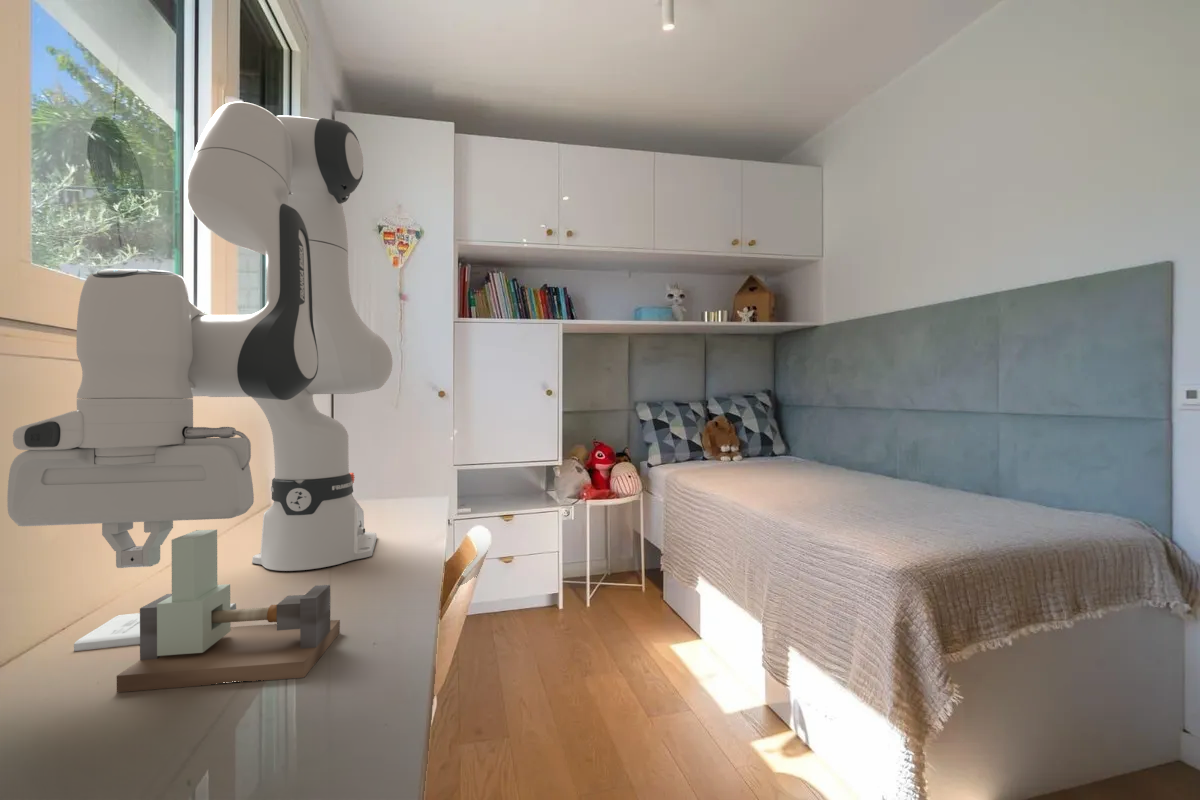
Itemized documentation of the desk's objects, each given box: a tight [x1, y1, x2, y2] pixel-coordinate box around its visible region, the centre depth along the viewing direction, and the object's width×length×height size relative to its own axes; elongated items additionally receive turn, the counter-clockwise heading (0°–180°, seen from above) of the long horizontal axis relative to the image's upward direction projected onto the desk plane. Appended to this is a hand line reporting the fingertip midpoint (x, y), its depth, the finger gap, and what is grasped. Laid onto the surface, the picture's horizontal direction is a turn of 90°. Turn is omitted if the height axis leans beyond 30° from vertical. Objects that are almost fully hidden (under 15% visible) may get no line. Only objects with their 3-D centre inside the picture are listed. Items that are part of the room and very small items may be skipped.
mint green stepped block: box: [157, 529, 232, 656], centre depth 54 cm, size 5×4×11 cm
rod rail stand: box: [116, 584, 341, 693], centre depth 55 cm, size 10×16×6 cm, turn 98°
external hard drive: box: [73, 603, 237, 652], centre depth 62 cm, size 2×8×12 cm
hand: (138, 565), depth 53 cm, fingers closed
